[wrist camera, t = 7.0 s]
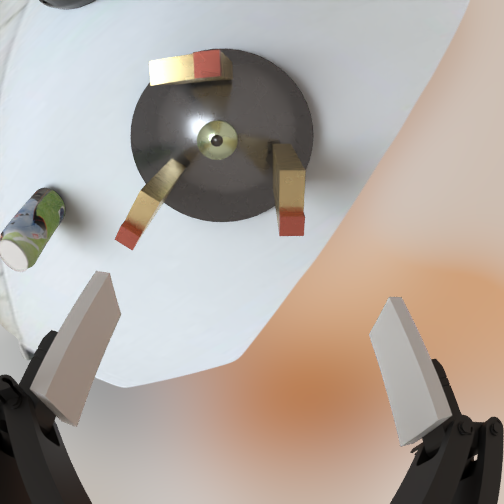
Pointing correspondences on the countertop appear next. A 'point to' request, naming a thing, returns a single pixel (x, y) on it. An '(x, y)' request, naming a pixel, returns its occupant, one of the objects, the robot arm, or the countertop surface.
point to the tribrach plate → (222, 137)
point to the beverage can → (31, 229)
